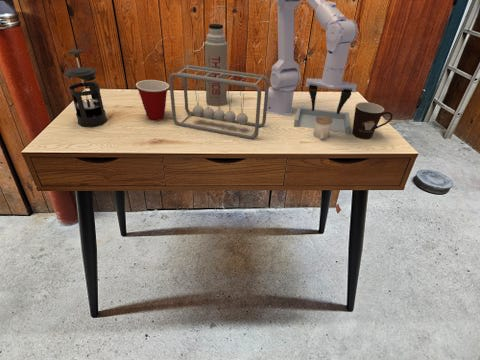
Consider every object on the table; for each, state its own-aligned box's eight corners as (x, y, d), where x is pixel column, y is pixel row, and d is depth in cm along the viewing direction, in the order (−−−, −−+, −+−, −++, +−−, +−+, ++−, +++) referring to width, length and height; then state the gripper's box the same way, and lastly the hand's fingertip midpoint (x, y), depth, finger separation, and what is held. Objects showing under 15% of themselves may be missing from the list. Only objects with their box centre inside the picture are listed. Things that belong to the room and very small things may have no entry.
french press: (99, 129, 104) (81, 56, 90) (71, 127, 104) (49, 54, 91) (114, 114, 113) (99, 46, 100) (88, 112, 114) (70, 44, 100)
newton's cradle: (265, 127, 109) (270, 75, 99) (257, 141, 101) (261, 86, 91) (186, 113, 117) (183, 63, 106) (172, 125, 108) (167, 72, 98)
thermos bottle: (222, 107, 122) (222, 27, 106) (203, 104, 124) (200, 25, 107) (229, 100, 128) (230, 23, 112) (210, 97, 130) (209, 21, 114)
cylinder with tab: (312, 141, 102) (315, 123, 99) (313, 131, 108) (316, 114, 104) (328, 143, 101) (332, 125, 98) (328, 134, 107) (332, 116, 103)
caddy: (293, 127, 110) (294, 119, 108) (296, 113, 120) (297, 105, 118) (348, 134, 107) (350, 126, 105) (347, 119, 117) (348, 111, 115)
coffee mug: (345, 137, 105) (353, 109, 99) (351, 127, 111) (358, 100, 106) (382, 146, 101) (392, 117, 95) (386, 135, 107) (395, 107, 101)
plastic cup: (174, 122, 110) (170, 88, 103) (141, 125, 107) (136, 90, 100) (170, 110, 118) (167, 77, 111) (140, 112, 116) (135, 79, 109)
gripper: (308, 68, 90) (301, 113, 97) (361, 73, 87) (349, 119, 95) (309, 61, 95) (302, 104, 103) (359, 66, 93) (348, 110, 101)
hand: (325, 111), depth 99 cm, fingers open, 7 cm apart
